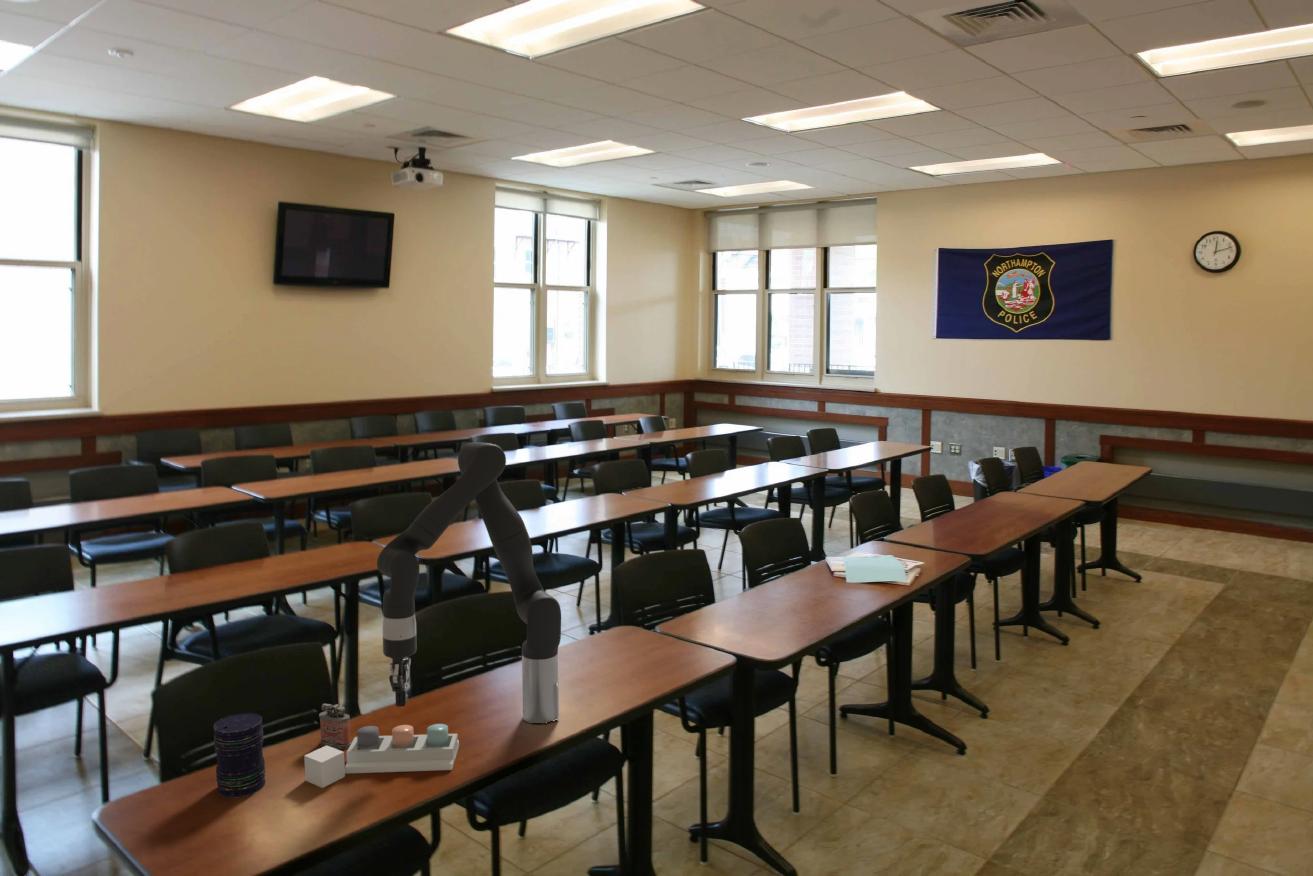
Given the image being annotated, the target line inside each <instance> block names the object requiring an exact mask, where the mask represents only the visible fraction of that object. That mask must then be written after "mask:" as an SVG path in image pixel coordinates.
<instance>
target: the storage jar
mask: <svg viewBox="0 0 1313 876" xmlns="http://www.w3.org/2000/svg"><path fill="white" fill-rule="evenodd" d="M213 731H214V733H213V735H214V736H213V743H214V752H215V753H216V768H215V774H216V776H215V777H216V779H215V780H216V783H217V784H216V785H217V794H218V793H219V794H218V795H219V796H220V797H224V798H227V797H228V799H233V798H234V799H235V798H237V799H238V798H242V797H247V795H248V796H250V795H253V794H255V793H257V792H260V791H261V790H262V789H263V788H264V787H265V785H266V761H265V758H264V755H263V754H264V753H263V744H264V738H265V737H264V729H263V717H262V716H261V715H259V714H258V713H255V712H254V713H252V712H243V713H242V712H241V713H240V712H239V713H236V714H231V715H227V716H224V717H223V718H221V719H219V720H217V721H216V722H215V723H214V724H213Z"/></svg>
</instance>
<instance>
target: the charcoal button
mask: <svg viewBox="0 0 1313 876" xmlns="http://www.w3.org/2000/svg"><path fill="white" fill-rule="evenodd" d="M379 736H380V731H379V727H378V726H376V725H367V726H366V725H365V726H362V727H361V728H359V729H357V731H356V737H357V743H358V746H360V747H372V746H375V745H377V744H378V743H379Z"/></svg>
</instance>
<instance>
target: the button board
mask: <svg viewBox="0 0 1313 876" xmlns="http://www.w3.org/2000/svg"><path fill="white" fill-rule="evenodd" d="M459 747H460V741H459V739H458V733H448V741H447V742H446V743H444V744H441V745H431V744H429V743H428V742H427V734H414V741H413V743H411V744H409V745H406V746H395V745H393V741H392V735H379V743H378V744H377V745H375V746H372V747H360V746H358V743H357V736H354V738H353V740H352V742H351V745H350V747H349V748H347V750H346V764H345V775H346V774H369V773H397V772H399V773H400V772H401V773H402V772H429V771H452V770H453V767H454V764H455V760H456V757H457V755H458V750H459Z"/></svg>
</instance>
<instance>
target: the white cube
mask: <svg viewBox="0 0 1313 876" xmlns="http://www.w3.org/2000/svg"><path fill="white" fill-rule="evenodd" d="M345 766H346V764H345V752H344V751H342V750H340V749H338V748H332V747H330V746H327V745H326V746H324V745H323V746H322V747H321V748H318V749H315V750H313V751H311V752H309V753H307V754H304V777H305V778H304V779H305V781H306V782H308V783H310V784H313V785H314V786H317V787H319V788H322V789H324V788H325V787H327V786H330V785H331V784H333V783H335V782H337V781H339V780H341V779H344V778H346V774H345Z"/></svg>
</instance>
